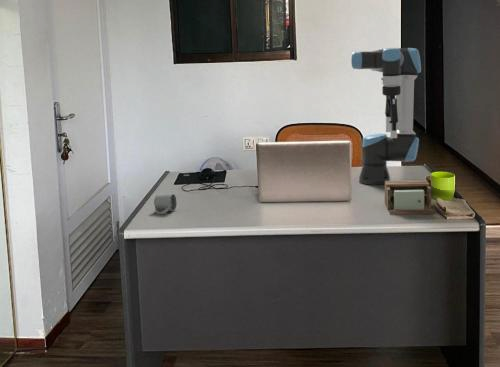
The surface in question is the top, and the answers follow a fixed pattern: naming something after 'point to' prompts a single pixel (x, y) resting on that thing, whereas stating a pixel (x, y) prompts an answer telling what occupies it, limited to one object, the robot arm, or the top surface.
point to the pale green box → (408, 199)
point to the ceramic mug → (165, 203)
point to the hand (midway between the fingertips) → (391, 135)
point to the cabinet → (408, 185)
